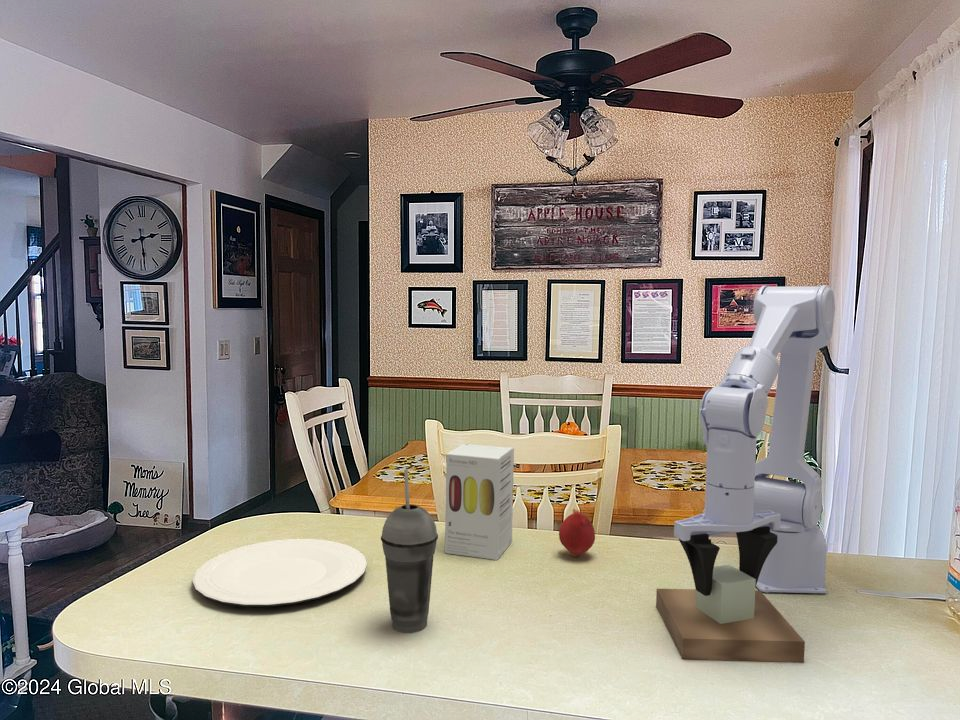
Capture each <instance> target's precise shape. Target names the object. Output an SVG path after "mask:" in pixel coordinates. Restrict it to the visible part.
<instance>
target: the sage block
mask: <svg viewBox="0 0 960 720" xmlns="http://www.w3.org/2000/svg"><path fill="white" fill-rule="evenodd" d="M755 585H756V579H754V578H752V577H751V576H749V575H747V574H745V573H743V572H742V571H740V570H739V568H736V567H734V566H733V565H731V564H722V565H717V566H715V565H714V569H713V579H712V590H711V594H710V595H709V596H704V595H703V594H701V593H700V592H698V591H697V590H696V599H695V607H696V608H698V609H699V610H701V611H702V612H704V613H705V614H707V615H708V616H709V617H711V618H712V619H714V620H715V621H717V622H718V623H720V624H724V623H730V622H735V621H741V620H747V619H753V618H754V608H755V591H756V587H755Z"/></svg>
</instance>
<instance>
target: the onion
mask: <svg viewBox="0 0 960 720" xmlns="http://www.w3.org/2000/svg"><path fill="white" fill-rule="evenodd" d="M558 539H559V542H560V543H561V545H562V547H564V548H565V549H566V550H567V551H568V552H569V554H570V555H572V556H573V557H575V558H579V557H580V556H581V555H583V554H585V553H586V552H588V551H589V550H590V549H591V548H592V547H593V545H594V544H595V539H596V533H595V528H594V525H593V522H591V520H590V519H589V518H588V517H587V516H585V514H583V513H582V512H581V511H580V509H578V508H576V507H575V508H573V509H572V513H571V514H569V515H568V516H567V517H566V518H564V520H563V521H562V523H561V524H560V526H559V530H558Z"/></svg>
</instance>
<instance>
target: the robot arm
mask: <svg viewBox="0 0 960 720" xmlns="http://www.w3.org/2000/svg"><path fill="white" fill-rule="evenodd" d="M835 300H836V299H835V294H834V292H833V290H832V289H831V287H830V286H829V285H827V284H822V285H818V286H817V285H816V286H815V285H814V286H813V285H812V286H807V285H805V286H803V285H802V286H798V285H797V286H793V285H792V286H789V285H788V286H769V285H761V287H760V288H759V289H758V290H757V291H756V293H755V296H754V299H753V308H752V310H753V317H754V321H755V324H756V326H755V329H754V332H753V334H752V337H751V340H750V342H749V345H748V346H744V347H742V348H740V349H739V350H737V352H736V353H735V355H734V356H733V358H732V360H731V362H730V363H729V366H728V367H727V370H726V372H725V373H724V375H723V377H722V380H721V381H720V382H719V384H718V385H715V386H713V387H712V388H711V389H707V390H706V391H705V392H704V394H703V396H702V399H701V403H700V409H699V421H700V425H701V428H702V441H703V444H704V445H706V464H705V465H706V467H705V494H704V495H705V496H704V509H703V510H702V513H699V514H697V515H694V516H691V517H687V518H684V519H679V520H674V523H673V524H674V525H673V536H674V537H675V538H677V539H678V541H679V543H680V544H681V546H682V549H683V550H684V552H685V554H686V558H687V560H688V563H689V566H690V568H691V574H692V578H693V582H694V587H695V589H696V590H697V591H698V592H700V593H701V594H703V595H704V596H709V595H710V594H711V590H712V579H713V569H714V567H715V563H716V560H717V556H718V553H719V551H720V549H721V547H720V546H718V545H716V544H715V543H713V542H712V539H711V538H710V536H720V535H726V534H736V539H737V546H738V553H739V554H738V555H739V558H738V559H739V561H738V562H739V565H738V566H739V568H738V570H740V571H742V572H743V573H745V574H747V575H749V576H751V577H752V578H754V579H756V585H755V588H757V590H758V591H761V592H762V593H794V594H795V593H796V594H799V593H800V594H804V593H805V594H827V592H828V590H827V589H826V588H825V587H826V583H825V582H826V570H827V569H826V566H827V541H826V538H825V535H824V534H825V533H824V532H823V530H822V529H821V527H820V526H818V525H817V524H818V523H819V521H820V517H821V514H822V507H823V494H822V486H823V485H822V483H823V481H822V478H821V476H820V474H819V473H818V472H817V471H816V470H815V469H814V468H813V467H811V466H810V465H809V464H808V462H806V461H805V460H804V457H805V456H804V455H805V448H806V439H807V431H808V421H809V412H810V403H811V396H812V388H813V379H814V371H815V365H816V359H817V355H818V352H819V349H822V348H824V347H827V346H829V345H830V343H831V338H832V336H833V328H834V321H835V315H836V314H835V312H836V305H835V303H836V302H835ZM779 354H780V358H779V361H778V359H777V357H778V356H779ZM776 378H777V382H776V389H775V390H776V391H775V399H774V404H773V413H772V423H771V431H770V438H769V439H770V440H769V445H768V446H769V447H768V455H767V456H766V457H764V458H762V459H759V460H758V461H756V458H757V456H756V455H757V442H758V441H757V438H758V436H759V435H760V434H761V432H762V431H763V429H764V426H765V422H766V414H767V409H768V407H769V406H768V405H769V400H768V395H769V393H770V391H771V389H772V387H773V384H774V382H775V380H776ZM768 476H775V477H776V476H777V477H783V478H790V479H794V480H795V479H796V480H797V481H798V480H799V481H801V482H795V481H789V480H785V479H779V478H773V477H768Z"/></svg>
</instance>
